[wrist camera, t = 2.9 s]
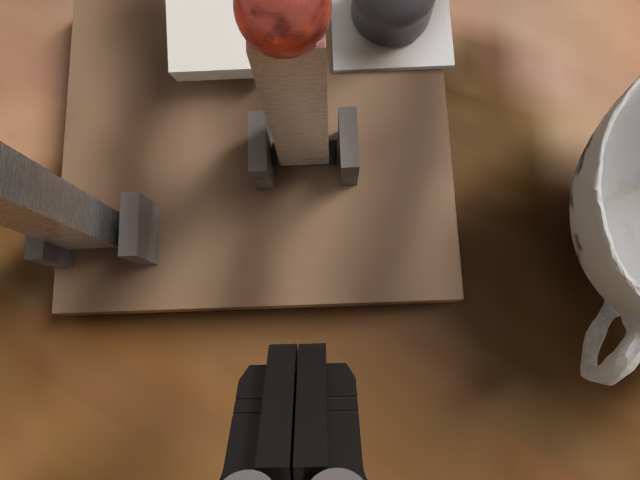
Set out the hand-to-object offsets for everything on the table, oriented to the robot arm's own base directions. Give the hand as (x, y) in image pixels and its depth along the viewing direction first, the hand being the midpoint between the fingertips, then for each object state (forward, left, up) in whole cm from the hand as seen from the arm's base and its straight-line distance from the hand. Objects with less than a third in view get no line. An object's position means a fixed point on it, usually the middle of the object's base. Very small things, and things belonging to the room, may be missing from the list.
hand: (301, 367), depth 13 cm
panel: (-3, +11, -11) cm, 16 cm away
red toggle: (0, +9, -9) cm, 13 cm away
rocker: (-4, +17, -8) cm, 19 cm away
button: (+4, +17, -9) cm, 20 cm away
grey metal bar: (-10, +6, -9) cm, 14 cm away
